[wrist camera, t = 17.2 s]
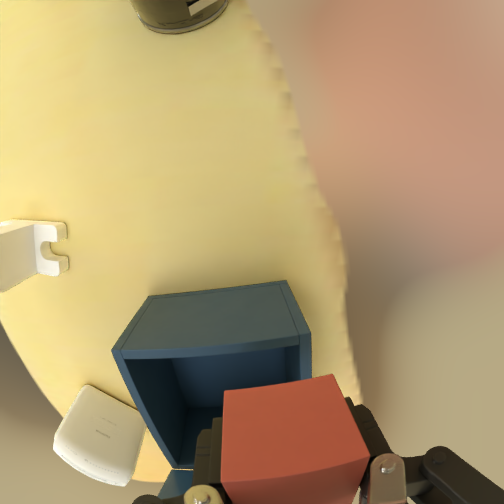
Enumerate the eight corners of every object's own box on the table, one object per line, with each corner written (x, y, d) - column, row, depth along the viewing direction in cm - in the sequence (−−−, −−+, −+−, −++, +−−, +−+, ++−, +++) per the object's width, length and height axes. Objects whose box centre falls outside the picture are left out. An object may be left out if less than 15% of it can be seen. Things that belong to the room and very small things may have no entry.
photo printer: (153, 415, 30) (132, 488, 18) (144, 429, 31) (124, 497, 19) (85, 377, 28) (45, 442, 16) (80, 394, 29) (45, 455, 17)
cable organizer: (9, 219, 23) (-49, 236, 13) (66, 222, 24) (2, 244, 14) (12, 261, 24) (-41, 289, 14) (69, 271, 25) (12, 309, 15)
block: (223, 390, 10) (220, 481, 6) (332, 373, 10) (371, 455, 6) (240, 449, 11) (243, 522, 7) (328, 435, 11) (352, 503, 7)
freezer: (148, 296, 26) (110, 350, 16) (286, 279, 26) (311, 332, 17) (184, 407, 30) (172, 468, 20) (293, 397, 30) (309, 459, 21)
